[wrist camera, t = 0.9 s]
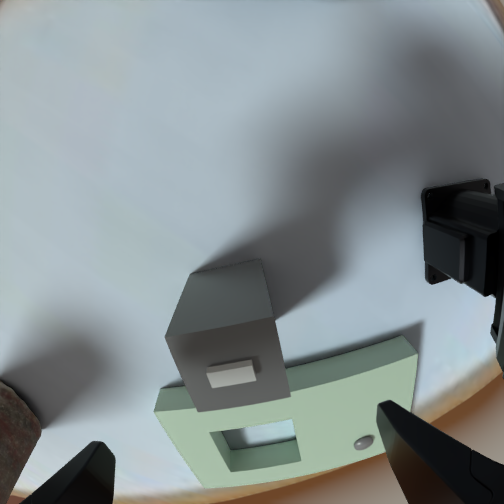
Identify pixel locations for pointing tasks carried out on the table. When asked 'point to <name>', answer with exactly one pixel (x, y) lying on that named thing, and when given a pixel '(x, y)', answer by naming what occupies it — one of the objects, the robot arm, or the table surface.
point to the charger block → (228, 339)
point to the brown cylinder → (14, 438)
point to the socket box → (296, 418)
